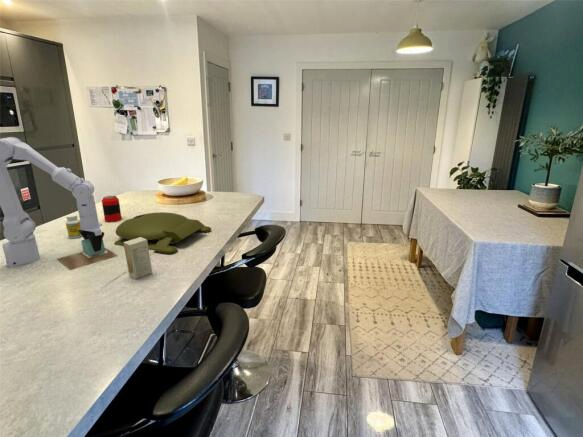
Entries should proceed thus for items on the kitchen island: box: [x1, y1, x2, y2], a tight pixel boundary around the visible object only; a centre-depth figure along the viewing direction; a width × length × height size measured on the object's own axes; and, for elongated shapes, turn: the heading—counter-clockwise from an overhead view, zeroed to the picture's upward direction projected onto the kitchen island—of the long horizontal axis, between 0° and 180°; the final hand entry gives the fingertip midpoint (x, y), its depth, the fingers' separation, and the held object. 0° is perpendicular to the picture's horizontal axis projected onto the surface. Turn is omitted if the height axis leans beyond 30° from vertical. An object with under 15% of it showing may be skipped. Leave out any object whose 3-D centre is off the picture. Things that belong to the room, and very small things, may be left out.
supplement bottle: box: [65, 214, 83, 239], centre depth 147 cm, size 5×5×10 cm
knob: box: [80, 239, 106, 256], centre depth 127 cm, size 6×6×5 cm
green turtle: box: [113, 211, 212, 255], centre depth 146 cm, size 35×31×10 cm
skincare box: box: [123, 237, 153, 280], centre depth 112 cm, size 6×4×12 cm
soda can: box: [101, 195, 122, 223], centre depth 169 cm, size 8×8×12 cm
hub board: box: [56, 246, 119, 271], centre depth 124 cm, size 16×14×4 cm
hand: (94, 248), depth 128 cm, fingers closed on knob, 5 cm apart
